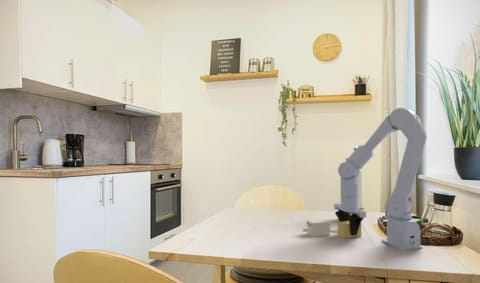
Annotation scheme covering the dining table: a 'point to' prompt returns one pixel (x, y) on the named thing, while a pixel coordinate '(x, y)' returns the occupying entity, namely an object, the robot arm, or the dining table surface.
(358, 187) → the paper towel roll
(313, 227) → the cream brick
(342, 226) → the ochre brick
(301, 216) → the dining table surface
